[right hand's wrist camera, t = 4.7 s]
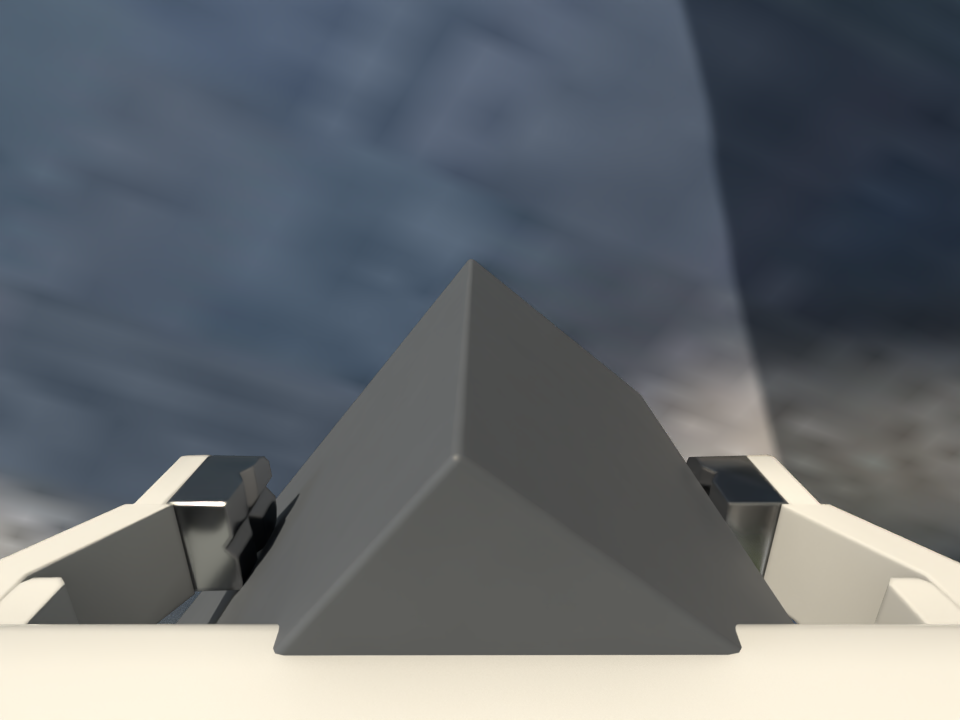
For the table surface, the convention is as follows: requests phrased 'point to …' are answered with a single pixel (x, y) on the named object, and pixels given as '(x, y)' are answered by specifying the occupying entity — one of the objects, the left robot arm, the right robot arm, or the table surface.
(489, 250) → the table surface
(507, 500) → the bar
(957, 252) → the table surface
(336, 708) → the right robot arm
